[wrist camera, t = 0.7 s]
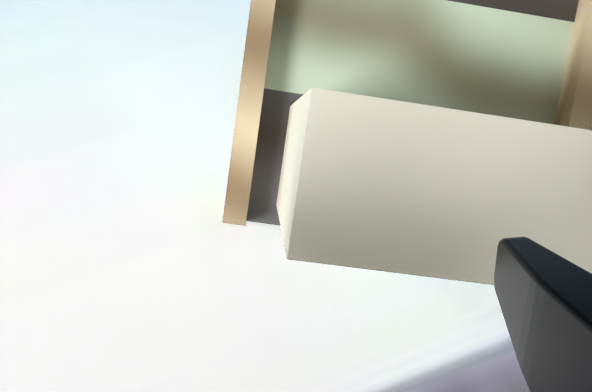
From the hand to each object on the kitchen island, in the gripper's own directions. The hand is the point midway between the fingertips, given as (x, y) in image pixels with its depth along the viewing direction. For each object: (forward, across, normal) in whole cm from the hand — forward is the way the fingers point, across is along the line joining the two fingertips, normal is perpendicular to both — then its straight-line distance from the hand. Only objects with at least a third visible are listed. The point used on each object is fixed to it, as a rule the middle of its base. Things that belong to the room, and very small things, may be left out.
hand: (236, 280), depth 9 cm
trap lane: (+16, -6, +3) cm, 17 cm away
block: (+14, -5, +6) cm, 16 cm away
